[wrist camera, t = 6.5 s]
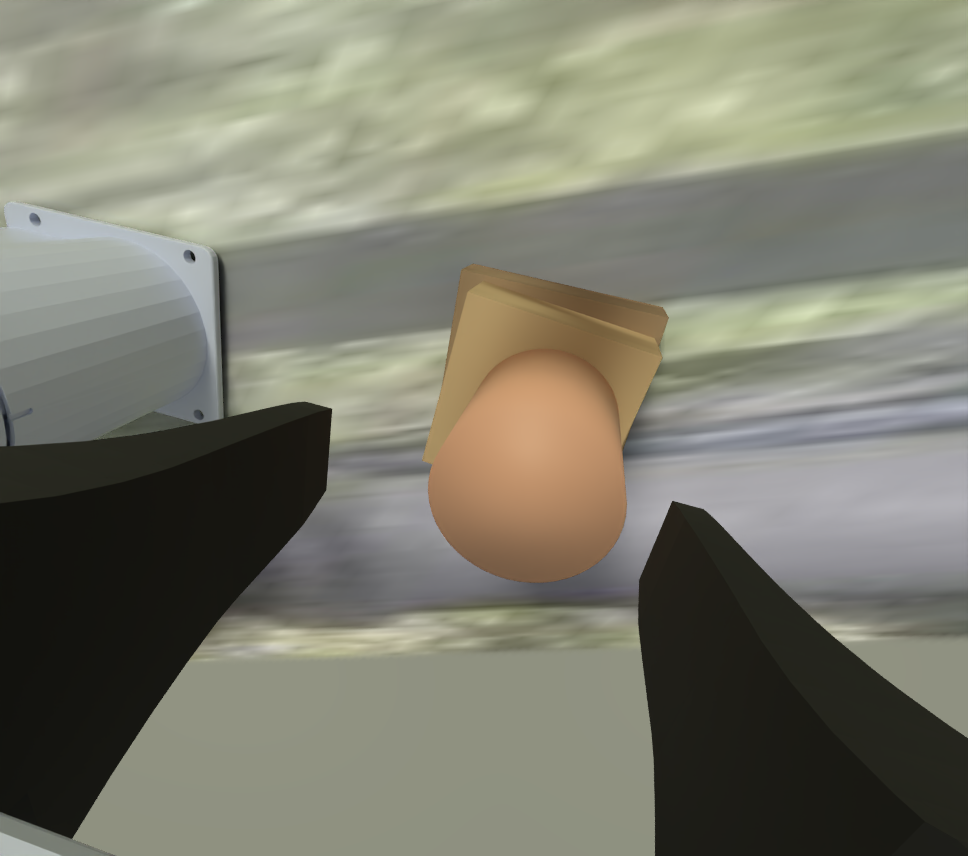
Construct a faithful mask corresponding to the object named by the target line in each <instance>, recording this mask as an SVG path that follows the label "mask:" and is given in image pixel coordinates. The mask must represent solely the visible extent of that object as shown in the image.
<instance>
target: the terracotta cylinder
mask: <svg viewBox="0 0 968 856" xmlns="http://www.w3.org/2000/svg"><path fill="white" fill-rule="evenodd" d="M428 494H429V503H430V507H431V511H432V514H433V517H434V519H435V522H436V524H437V526H438V527H439V529H440V531H441V533H442V534H443V536H444V537H445V538H446V540H447V541H448V542H449V544H450V545H451V546H452V547H453V548H454V549H455V550H456V551H457V552H458V553H459V554H460V555H462V556H463V557H464V558H465V559H467V560H468V561H469V562H471V563H472V564H474V565H475V566H477V567H479V568H481V569H482V570H484V571H486V572H489V573H491V574H494V575H496V576H499V577H502V578H505V579H509V580H514V581H519V582H530V583H544V582H552V581H558V580H562V579H567V578H569V577H572V576H575V575H578V574H580V573H582V572H584V571H586V570H588V569H589V568H591V567H592V566H594V565H595V564H597V563H598V562H599V561H600V560H601V559H602V558H603V557H605V556H606V555H607V553H608V552H609V551H610V550H611V549H612V547H613V546H614V544H615V543H616V541H617V539H618V538H619V536H620V533H621V531H622V528H623V526H624V521H625V517H626V507H627V501H626V489H625V478H624V466H623V455H622V443H621V432H620V420H619V409H618V404H617V400H616V397H615V395H614V392H613V390H612V388H611V386H610V385H609V383H608V382H607V380H606V379H605V378H604V376H603V375H602V374H601V373H600V372H599V371H598V370H597V369H596V368H595V367H594V366H592V365H591V364H590V363H588V362H587V361H585V360H583V359H582V358H580V357H578V356H576V355H573V354H571V353H568V352H564V351H560V350H554V349H534V350H527V351H523V352H520V353H517V354H515V355H512V356H510V357H508V358H506V359H505V360H503V361H502V362H500V363H499V364H498V365H496V366H495V367H494V368H493V369H492V370H491V371H490V372H489V373H488V374H487V376H486V377H485V378H484V380H483V381H482V383H481V384H480V386H479V388H478V389H477V391H476V392H475V394H474V396H473V397H472V399H471V400H470V402H469V404H468V405H467V407H466V408H465V410H464V412H463V413H462V415H461V416H460V418H459V420H458V421H457V423H456V424H455V426H454V428H453V429H452V431H451V432H450V434H449V436H448V437H447V439H446V440H445V442H444V444H443V445H442V447H441V448H440V450H439V452H438V454H437V456H436V457H435V459H434V462H433V465H432V468H431V471H430V476H429V484H428Z"/></svg>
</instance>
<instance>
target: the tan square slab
mask: <svg viewBox="0 0 968 856" xmlns="http://www.w3.org/2000/svg"><path fill="white" fill-rule="evenodd" d="M482 281H485V282H488V283H491V284H494V285H497V286H500V287H503V288H506V289H509V290H512V291H515V292H518V293H521V294H524V295H527V296H530V297H533V298H536V299H539V300H542V301H545V302H548V303H551V304H554V305H557V306H560V307H563V308H566V309H569V310H572V311H575V312H578V313H581V314H584V315H587V316H590V317H593V318H596V319H599V320H602V321H605V322H608V323H611V324H614V325H617V326H620V327H623V328H626V329H629V330H632V331H635V332H638V333H641V334H644V335H646V336H649V337H652V338H655V340H656V343H657V345H658V347H659V344H660V341H661V338H662V336H663V333H664V330H665V327H666V324H667V321H668V318H669V317H668V316H667V314H666V312H665V310H664V309H663V307H659V306H655V305H650V304H646V303H642V302H637V301H633V300H629V299H624V298H620V297H616V296H611V295H607V294H603V293H598V292H594V291H590V290H585V289H581V288H576V287H572V286H568V285H563V284H559V283H555V282H550V281H546V280H542V279H537V278H533V277H529V276H524V275H520V274H516V273H511V272H507V271H502V270H498V269H494V268H489V267H485V266H481V265H476V264H472V265H470V266H468V267H466V268H464V269H462V270H461V275H460V281H459V287H458V293H457V299H456V305H455V311H454V317H453V323H452V329H451V335H450V341H449V347H448V353H447V359H446V365H445V371H444V377H443V381H444V378H445V374H446V370H447V366H448V363H449V359H450V355H451V352H452V348H453V344H454V340H455V337H456V333H457V329H458V326H459V322H460V318H461V314H462V311H463V307H464V303H465V300H466V296H467V292H468V291H469V290H471V289H472V288H474V287H475V286H477V285H478V284H480V283H481V282H482ZM442 385H443V383H442ZM630 428H631V427H630ZM629 431H630V429H629ZM629 431H628V434H629ZM628 434H627V436H626V438H625V440H624V442H623V445H622V451H623V448H624V445H625V442H626V440H627V437H628Z"/></svg>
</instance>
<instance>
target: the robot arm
mask: <svg viewBox="0 0 968 856" xmlns="http://www.w3.org/2000/svg"><path fill="white" fill-rule="evenodd" d="M4 213H5V218H6V223H7V227H0V856H115V855H113V854H110V853H107V852H105V851H102V850H99V849H96V848H94V847H91V846H89V845H86V844H83V843H81V842H78V841H75V840H73V839H72V838H73V836H74V835H75V833H76V832H77V830H78V828H79V827H80V825H81V823H82V822H83V820H84V819H85V817H86V815H87V814H88V812H89V810H90V809H91V807H92V805H93V804H94V802H95V800H96V799H97V797H98V796H99V794H100V792H101V791H102V789H103V788H104V786H105V784H106V783H107V781H108V779H109V778H110V776H111V775H112V773H113V772H114V770H115V768H116V767H117V765H118V764H119V762H120V761H121V759H122V758H123V756H124V755H125V753H126V752H127V750H128V749H129V747H130V746H131V744H132V742H133V741H134V740H135V738H136V736H137V735H138V733H139V732H140V730H141V729H142V727H143V726H144V724H145V723H146V721H147V720H148V718H149V717H150V715H151V714H152V712H153V711H154V709H155V708H156V706H157V705H158V703H159V702H160V700H161V699H162V698H163V696H164V694H165V693H166V692H167V690H168V689H169V687H170V686H171V685H172V683H173V682H174V680H175V679H176V678H177V676H178V675H179V673H180V672H181V670H182V669H183V668H184V666H185V665H186V663H187V662H188V661H189V659H190V658H191V656H192V655H193V654H194V652H195V651H196V650H197V648H198V647H199V646H200V644H201V643H202V642H203V640H204V639H205V637H206V636H207V635H208V633H209V632H210V631H211V629H212V628H213V627H214V625H215V624H216V622H217V621H218V620H219V619H220V618H221V616H222V615H223V614H224V613H225V612H226V610H227V609H228V608H229V607H230V606H231V604H232V603H233V602H234V601H235V600H236V599H237V598H238V596H239V595H240V594H241V593H242V592H243V591H244V590H245V589H246V588H247V587H248V585H249V584H250V583H251V582H252V581H253V580H254V579H255V578H256V577H257V576H258V575H259V573H260V572H261V571H262V570H263V569H264V568H265V567H266V566H267V565H268V564H269V562H270V561H271V560H272V559H273V558H274V557H275V556H276V555H277V554H278V553H279V551H280V550H281V549H282V548H283V547H284V546H285V545H286V544H287V543H288V541H289V540H290V539H291V538H292V537H293V536H294V535H295V534H296V532H297V531H298V530H299V529H300V528H301V527H302V525H303V524H304V523H305V521H306V520H307V518H308V517H309V515H310V514H311V513H312V511H313V510H314V508H315V507H316V505H317V503H318V502H319V500H320V499H321V497H322V496H323V494H324V493H325V491H326V486H327V472H328V458H329V445H330V431H331V417H332V409H331V408H327V407H323V406H320V405H316V404H312V403H308V402H297V403H290V404H285V405H280V406H275V407H270V408H266V409H262V410H257V411H253V412H249V413H244V414H240V415H236V416H231V417H227V418H224V415H223V386H222V357H221V328H220V299H219V270H218V258H217V255H216V253H215V251H214V250H212V249H211V248H210V247H208V246H205V245H201V244H197V243H192V242H188V241H184V240H180V239H176V238H171V237H167V236H163V235H159V234H154V233H150V232H146V231H142V230H138V229H133V228H129V227H125V226H121V225H116V224H112V223H108V222H104V221H99V220H95V219H91V218H87V217H83V216H78V215H74V214H70V213H66V212H61V211H57V210H53V209H49V208H44V207H40V206H36V205H32V204H28V203H23V202H8V203H6V205H5V207H4ZM39 218H40V220H41V222H40V220H39ZM191 251H192V252H193V253H194V254H195V258H196V259H195V261H193V259H192V258H191V255H190V254H191ZM199 410H200V411H201V412H202V413H203V415H204V416H202V415H201V414H200V411H199ZM153 411H154V412H157V413H161V414H165V415H168V416H172V417H175V418H179V419H183V420H186V421H190V422H194V423H197V424H194V425H189V426H184V427H179V428H174V429H169V430H164V431H158V432H152V433H146V434H139V435H133V436H125V437H117V438H109V439H100V440H94V439H96V438H99V437H101V436H103V435H105V434H107V433H109V432H111V431H113V430H115V429H117V428H119V427H121V426H124V425H126V424H128V423H130V422H132V421H134V420H136V419H138V418H140V417H142V416H144V415H146V414H149V413H151V412H153ZM638 626H639V635H640V644H641V652H642V661H643V668H644V676H645V685H646V693H647V701H648V709H649V717H650V724H651V732H652V743H653V756H654V789H655V790H654V791H655V856H968V738H967V737H965V736H964V735H962V734H961V733H959V732H958V731H956V730H955V729H953V728H952V727H950V726H949V725H948V724H946V723H945V722H943V721H942V720H941V719H939V718H938V717H936V716H935V715H934V714H932V713H931V712H930V711H928V710H927V709H925V708H924V707H922V706H921V705H920V704H918V703H917V702H915V701H914V700H913V699H912V698H910V697H909V696H907V695H906V694H904V693H903V692H902V691H901V690H899V689H898V688H896V687H895V686H894V685H893V684H891V683H890V682H889V681H887V680H886V679H884V678H883V677H882V676H881V675H880V674H878V673H877V672H876V671H874V670H873V669H872V668H871V667H869V666H868V665H867V664H866V663H865V662H863V661H862V660H861V659H860V658H859V657H857V656H856V655H855V654H854V653H852V652H851V651H850V650H849V649H848V648H846V647H845V646H844V645H843V644H842V643H840V642H839V641H838V640H837V639H835V638H834V637H833V636H832V635H831V634H830V633H829V632H827V631H826V630H825V629H824V628H823V627H822V626H821V625H820V624H818V623H817V622H816V621H815V620H814V619H813V618H812V617H811V616H810V615H809V614H808V613H807V612H806V611H804V610H803V609H802V608H801V607H800V606H799V605H798V604H797V603H796V602H795V601H794V600H793V599H792V598H791V597H790V596H789V595H788V594H787V593H786V592H785V591H783V590H782V589H781V588H780V587H779V586H778V585H777V584H776V583H775V582H774V581H773V580H772V579H771V578H770V576H769V575H768V574H767V573H766V572H765V571H764V570H763V569H762V568H761V567H760V566H759V565H758V564H757V563H756V562H755V561H754V560H753V559H752V558H751V557H750V556H749V555H748V554H747V553H746V551H745V550H744V549H743V548H742V547H741V546H740V545H739V544H738V543H737V542H736V541H735V540H734V539H733V538H732V537H731V536H730V534H729V533H728V532H727V531H726V530H725V529H724V528H723V527H722V526H721V525H720V524H719V523H718V522H717V521H716V520H715V519H714V518H713V517H712V516H711V515H710V514H709V513H707V512H706V511H705V510H704V509H700V508H697V507H693V506H689V505H686V504H682V503H678V502H675V501H672V503H671V506H670V508H669V510H668V513H667V515H666V517H665V520H664V522H663V525H662V527H661V529H660V532H659V534H658V537H657V539H656V541H655V544H654V546H653V548H652V551H651V553H650V556H649V558H648V560H647V563H646V565H645V567H644V570H643V572H642V575H641V577H640V579H639V604H638Z"/></svg>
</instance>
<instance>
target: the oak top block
mask: <svg viewBox="0 0 968 856" xmlns="http://www.w3.org/2000/svg"><path fill="white" fill-rule="evenodd" d="M534 349H554V350H560V351H564V352H568V353H571V354H573V355H576V356H578V357H580V358H582V359H583V360H585V361H587V362H588V363H590V364H591V365H592V366H594V367H595V368H596V369H597V370H598V371H599V372H600V373H601V374H602V375H603V376H604V378H605V379H606V380H607V382H608V383H609V385H610V386H611V388H612V390H613V392H614V395H615V397H616V400H617V404H618V409H619V420H620V432H621V443H622V445H623V442H624V440H625V438H626V436H627V434H628V431H629V429H630V427H631V425H632V423H633V421H634V418H635V416H636V414H637V412H638V410H639V408H640V405H641V403H642V401H643V399H644V397H645V394H646V392H647V390H648V388H649V386H650V384H651V381H652V379H653V377H654V375H655V373H656V371H657V368H658V366H659V364H660V362H661V360H662V358H663V357H662V355H661V352H660V350H659V348H658V345H657V343H656V340H655V338H652V337H649V336H646V335H644V334H641V333H638V332H635V331H632V330H629V329H626V328H623V327H620V326H617V325H614V324H611V323H608V322H605V321H602V320H599V319H596V318H593V317H590V316H587V315H584V314H581V313H578V312H575V311H572V310H569V309H566V308H563V307H560V306H557V305H554V304H551V303H548V302H545V301H542V300H539V299H536V298H533V297H530V296H527V295H524V294H521V293H518V292H515V291H512V290H509V289H506V288H503V287H500V286H497V285H494V284H491V283H488V282H485V281H482V282H481V283H480V284H478V285H477V286H475V287H474V288H472V289H471V290H469V291H468V292H467V296H466V300H465V303H464V307H463V311H462V314H461V318H460V322H459V326H458V329H457V333H456V337H455V340H454V344H453V348H452V352H451V355H450V359H449V363H448V366H447V370H446V374H445V378H444V381H443V385H442V389H441V392H440V396H439V400H438V403H437V407H436V411H435V415H434V418H433V422H432V426H431V429H430V433H429V437H428V441H427V444H426V448H425V452H424V455H423V459H422V461H425V462H428V463H430V464H433V462H434V459H435V457H436V456H437V454H438V452H439V450H440V448H441V447H442V445H443V444H444V442H445V440H446V439H447V437H448V436H449V434H450V432H451V431H452V429H453V428H454V426H455V424H456V423H457V421H458V420H459V418H460V416H461V415H462V413H463V412H464V410H465V408H466V407H467V405H468V404H469V402H470V400H471V399H472V397H473V396H474V394H475V392H476V391H477V389H478V388H479V386H480V384H481V383H482V381H483V380H484V378H485V377H486V376H487V374H488V373H489V372H490V371H491V370H492V369H493V368H494V367H495V366H496V365H498V364H499V363H500V362H502V361H503V360H505V359H506V358H508V357H510V356H512V355H515V354H517V353H520V352H523V351H527V350H534Z"/></svg>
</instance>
